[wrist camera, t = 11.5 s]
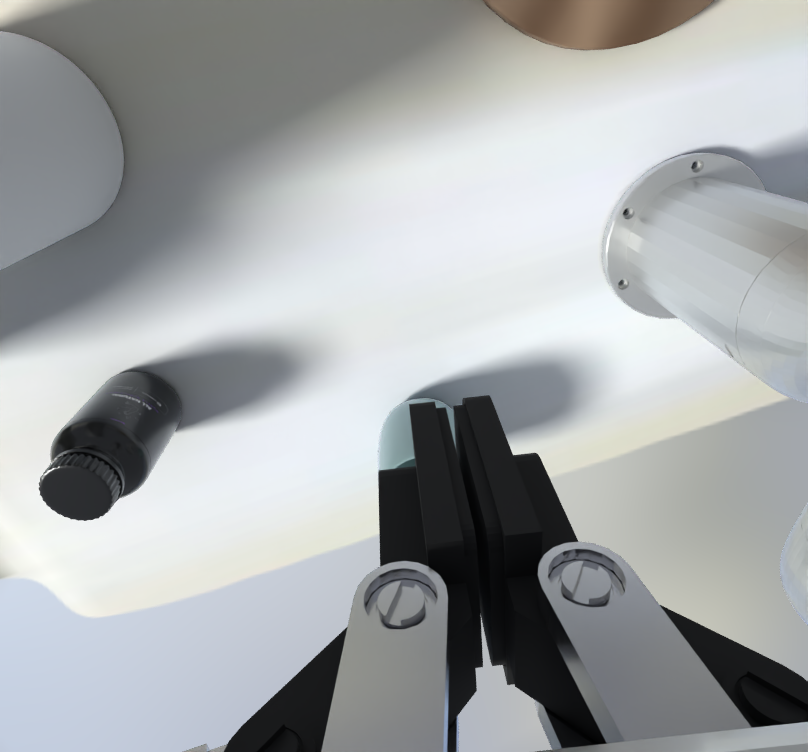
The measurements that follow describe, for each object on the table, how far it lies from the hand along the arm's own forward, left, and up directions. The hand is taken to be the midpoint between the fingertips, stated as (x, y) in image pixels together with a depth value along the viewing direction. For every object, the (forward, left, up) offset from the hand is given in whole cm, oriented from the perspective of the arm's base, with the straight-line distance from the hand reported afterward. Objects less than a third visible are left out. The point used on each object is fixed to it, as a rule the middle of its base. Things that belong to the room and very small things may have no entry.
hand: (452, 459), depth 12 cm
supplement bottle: (+13, +24, -33) cm, 43 cm away
